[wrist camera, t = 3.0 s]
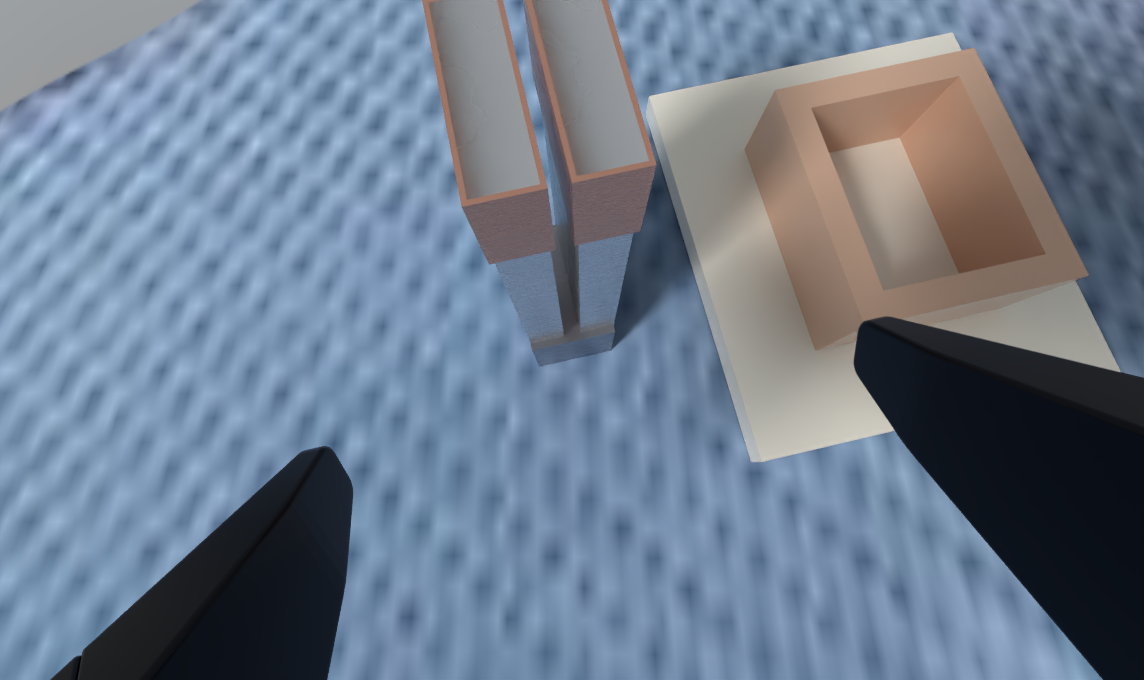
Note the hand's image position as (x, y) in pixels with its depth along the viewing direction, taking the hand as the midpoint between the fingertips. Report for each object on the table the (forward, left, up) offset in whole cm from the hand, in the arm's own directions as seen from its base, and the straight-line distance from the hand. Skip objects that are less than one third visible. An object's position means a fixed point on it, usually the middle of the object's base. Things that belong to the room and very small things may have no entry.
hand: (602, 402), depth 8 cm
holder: (-5, -13, -12) cm, 18 cm away
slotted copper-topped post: (+4, -4, -12) cm, 13 cm away
